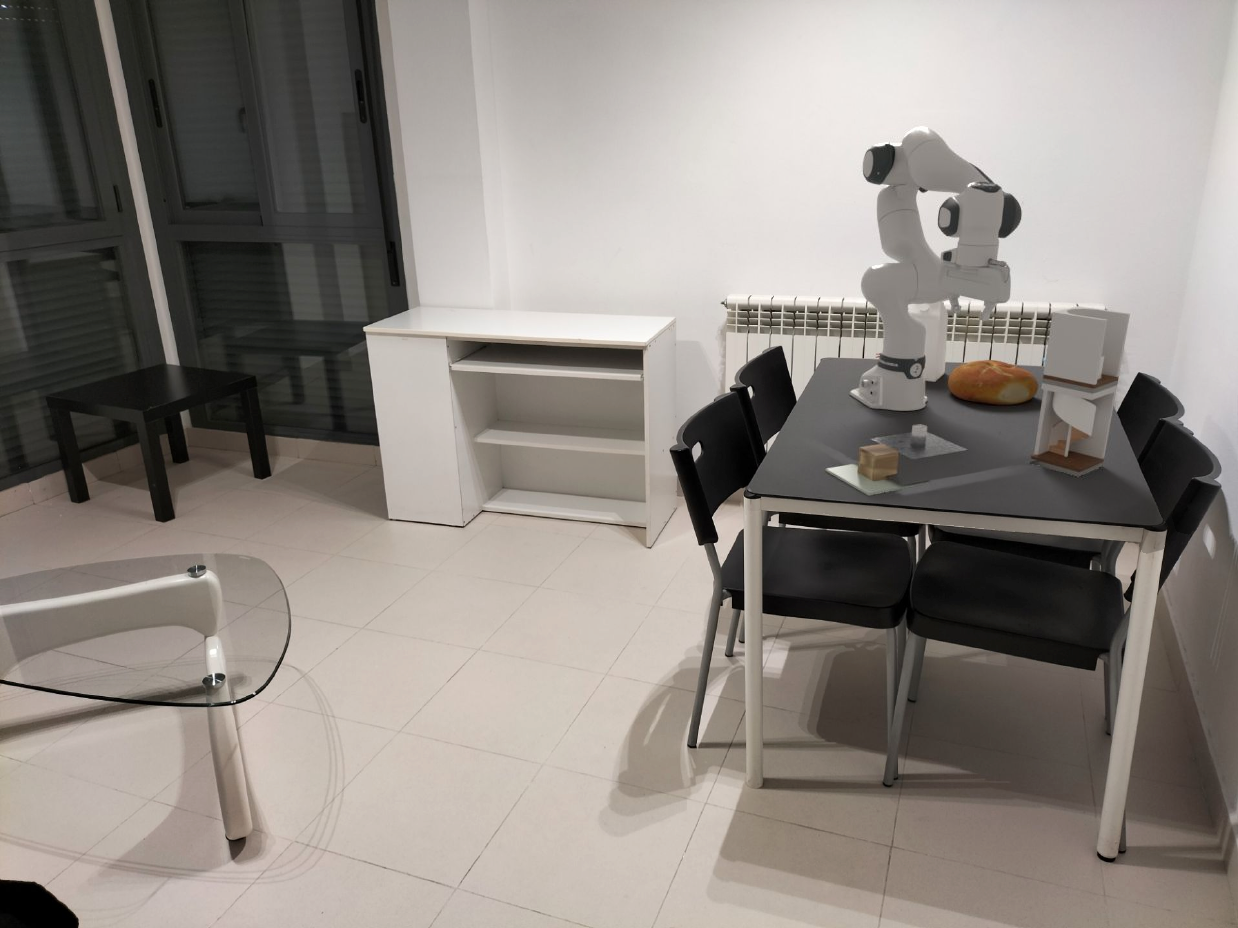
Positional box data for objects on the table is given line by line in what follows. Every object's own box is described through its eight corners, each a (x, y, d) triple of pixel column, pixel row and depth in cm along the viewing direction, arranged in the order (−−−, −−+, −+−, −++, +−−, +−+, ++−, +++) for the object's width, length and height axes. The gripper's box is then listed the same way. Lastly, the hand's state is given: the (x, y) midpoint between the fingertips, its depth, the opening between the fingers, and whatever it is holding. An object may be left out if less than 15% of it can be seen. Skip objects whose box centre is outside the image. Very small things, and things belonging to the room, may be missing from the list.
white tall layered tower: (1030, 463, 212) (1052, 312, 199) (1054, 453, 218) (1077, 306, 205) (1078, 477, 203) (1105, 320, 191) (1102, 466, 209) (1130, 313, 197)
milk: (944, 373, 287) (953, 289, 278) (934, 381, 278) (944, 295, 269) (905, 368, 293) (913, 286, 284) (895, 376, 284) (903, 292, 275)
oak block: (857, 472, 206) (859, 447, 204) (879, 468, 208) (881, 443, 206) (873, 481, 201) (876, 455, 199) (896, 477, 203) (898, 451, 201)
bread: (1017, 414, 247) (1023, 378, 244) (933, 399, 262) (937, 364, 258) (1046, 395, 263) (1051, 361, 260) (965, 382, 278) (969, 350, 274)
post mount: (869, 444, 225) (871, 421, 223) (922, 436, 231) (925, 413, 229) (911, 465, 211) (914, 440, 209) (967, 455, 217) (970, 431, 215)
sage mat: (825, 471, 209) (825, 468, 209) (883, 461, 214) (884, 458, 214) (868, 495, 195) (868, 492, 195) (929, 484, 200) (930, 481, 200)
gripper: (1021, 261, 203) (1013, 323, 207) (957, 250, 220) (950, 308, 225) (999, 263, 200) (991, 326, 205) (935, 252, 218) (929, 310, 223)
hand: (969, 316), depth 215 cm, fingers open, 8 cm apart
